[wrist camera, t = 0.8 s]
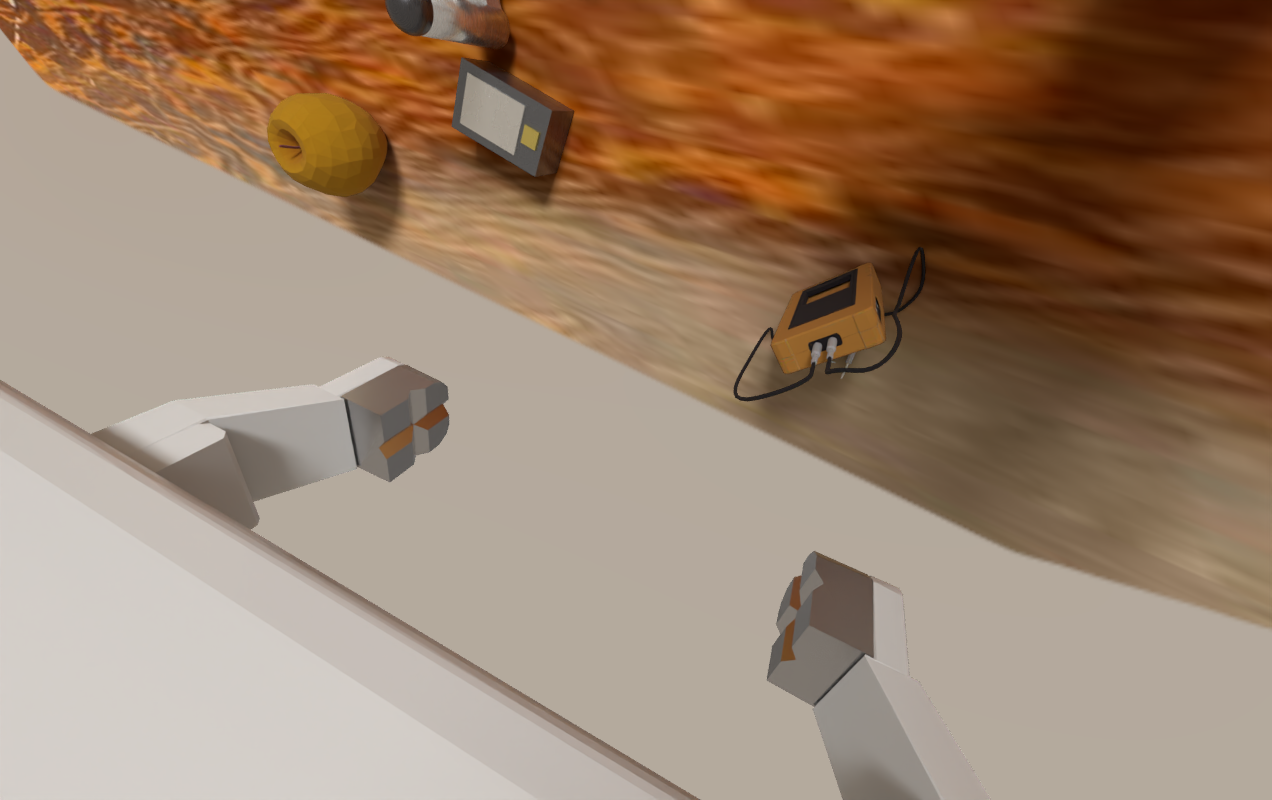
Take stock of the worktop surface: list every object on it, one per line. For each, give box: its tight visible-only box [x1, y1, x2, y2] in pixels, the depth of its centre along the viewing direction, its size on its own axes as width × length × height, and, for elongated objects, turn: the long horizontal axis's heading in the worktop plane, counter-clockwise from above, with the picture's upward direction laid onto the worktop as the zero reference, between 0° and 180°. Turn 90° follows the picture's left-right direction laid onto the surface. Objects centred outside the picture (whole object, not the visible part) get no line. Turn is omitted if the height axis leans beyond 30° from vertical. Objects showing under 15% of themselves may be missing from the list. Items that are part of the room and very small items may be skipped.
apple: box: [267, 93, 387, 197], centre depth 51 cm, size 10×10×12 cm
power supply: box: [452, 58, 574, 177], centre depth 46 cm, size 6×10×4 cm, turn 65°
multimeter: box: [734, 247, 925, 401], centre depth 37 cm, size 15×10×20 cm
